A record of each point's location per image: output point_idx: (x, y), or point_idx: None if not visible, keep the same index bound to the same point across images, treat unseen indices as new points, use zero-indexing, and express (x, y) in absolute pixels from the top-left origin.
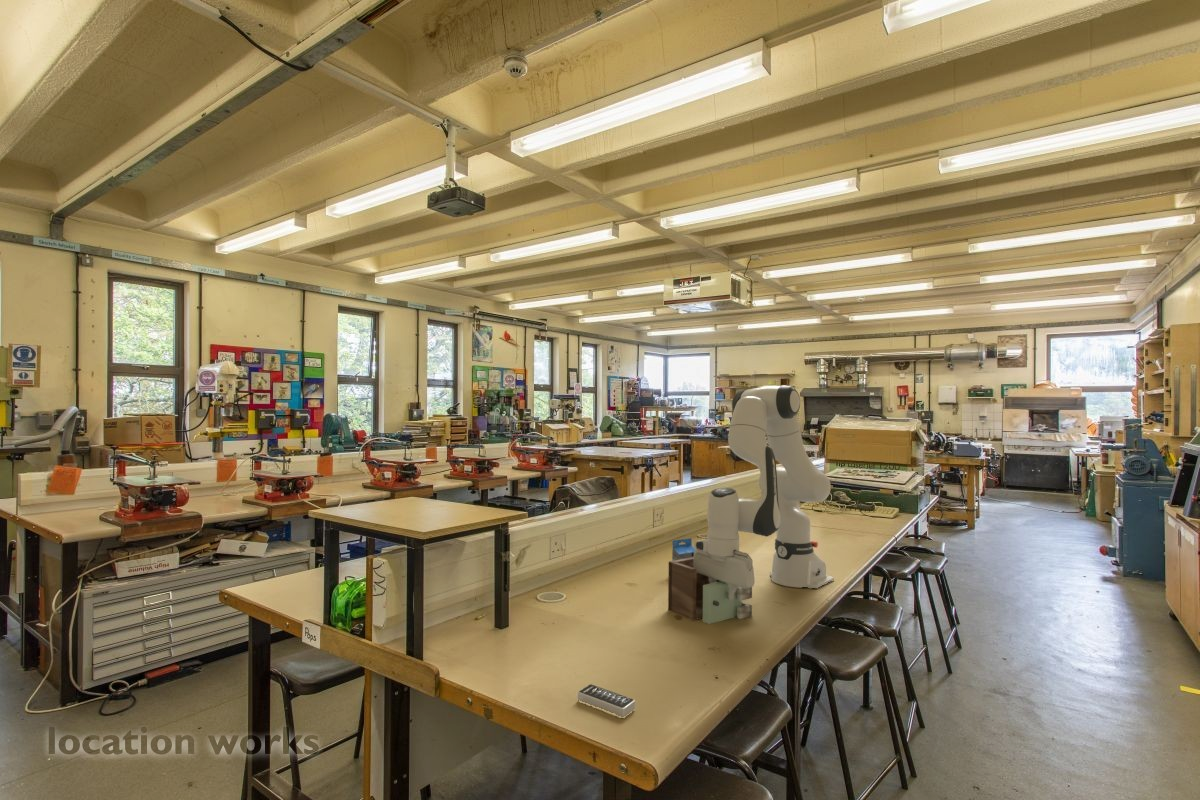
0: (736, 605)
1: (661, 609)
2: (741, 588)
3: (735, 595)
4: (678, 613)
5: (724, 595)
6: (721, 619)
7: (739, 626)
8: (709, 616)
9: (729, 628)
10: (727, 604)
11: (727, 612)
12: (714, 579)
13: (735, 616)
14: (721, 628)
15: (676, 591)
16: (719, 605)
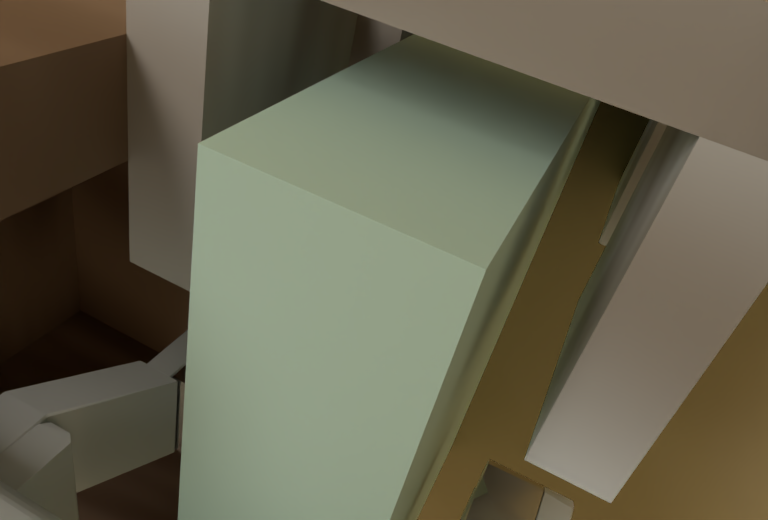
0: (560, 180)
1: None
2: (634, 464)
3: (509, 282)
4: None
5: (414, 503)
6: (496, 342)
7: (734, 408)
8: (427, 496)
9: (651, 484)
10: (481, 363)
11: (511, 301)
12: (60, 498)
13: (581, 144)
14: (583, 502)
15: None
16: (434, 473)
